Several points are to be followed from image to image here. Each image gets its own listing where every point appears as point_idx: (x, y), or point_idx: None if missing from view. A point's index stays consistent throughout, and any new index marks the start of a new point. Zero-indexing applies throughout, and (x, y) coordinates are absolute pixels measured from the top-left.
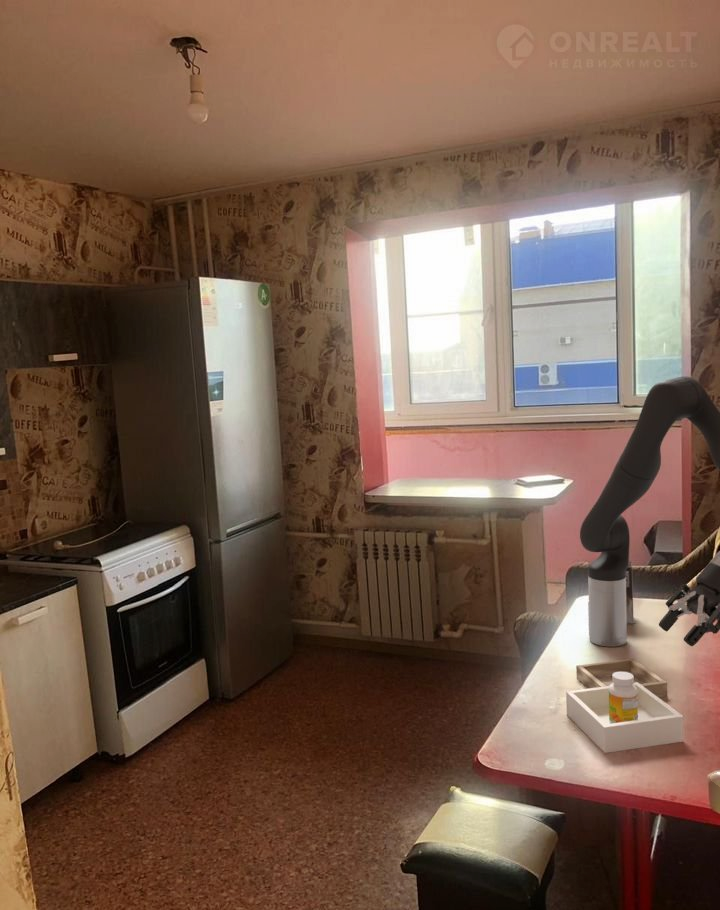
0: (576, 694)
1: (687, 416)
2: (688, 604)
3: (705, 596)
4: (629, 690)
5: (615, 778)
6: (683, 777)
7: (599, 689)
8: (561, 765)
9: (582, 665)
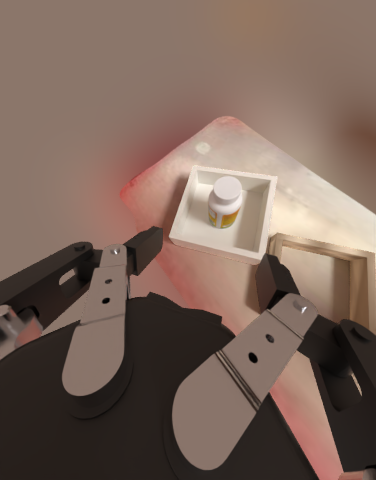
0: (269, 185)
1: None
2: (216, 329)
3: (86, 425)
4: (211, 194)
5: (166, 169)
6: (141, 205)
7: (266, 208)
8: (198, 150)
9: (372, 260)
